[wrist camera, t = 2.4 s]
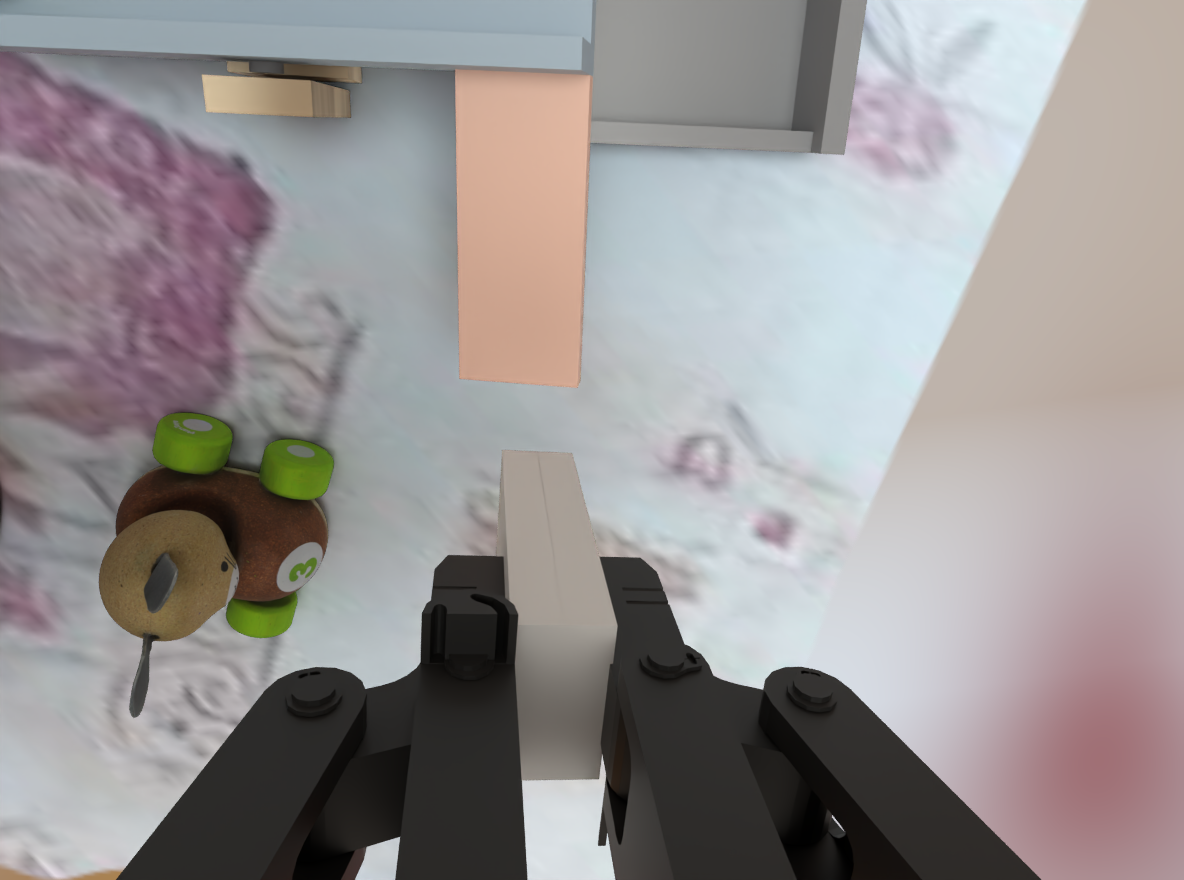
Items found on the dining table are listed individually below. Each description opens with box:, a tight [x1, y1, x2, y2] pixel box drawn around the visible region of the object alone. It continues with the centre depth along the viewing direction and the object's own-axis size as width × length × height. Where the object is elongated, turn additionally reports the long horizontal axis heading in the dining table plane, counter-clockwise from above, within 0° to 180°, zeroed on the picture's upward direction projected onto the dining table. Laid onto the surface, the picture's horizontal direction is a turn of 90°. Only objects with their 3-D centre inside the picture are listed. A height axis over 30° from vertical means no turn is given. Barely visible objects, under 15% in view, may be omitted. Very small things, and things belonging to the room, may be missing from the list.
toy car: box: [99, 413, 334, 718], centre depth 33 cm, size 9×9×11 cm
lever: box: [0, 0, 597, 388], centre depth 25 cm, size 20×16×5 cm
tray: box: [590, 0, 867, 155], centre depth 32 cm, size 13×10×4 cm
